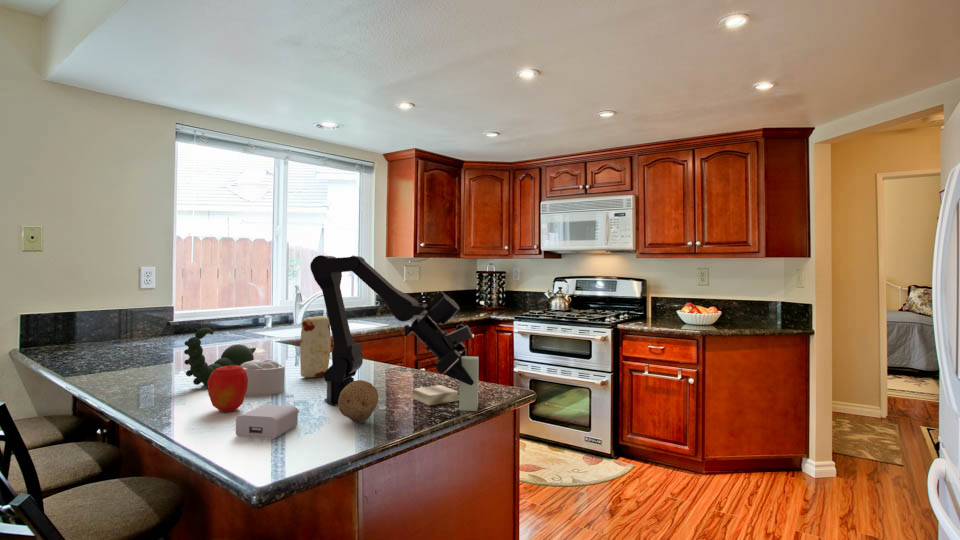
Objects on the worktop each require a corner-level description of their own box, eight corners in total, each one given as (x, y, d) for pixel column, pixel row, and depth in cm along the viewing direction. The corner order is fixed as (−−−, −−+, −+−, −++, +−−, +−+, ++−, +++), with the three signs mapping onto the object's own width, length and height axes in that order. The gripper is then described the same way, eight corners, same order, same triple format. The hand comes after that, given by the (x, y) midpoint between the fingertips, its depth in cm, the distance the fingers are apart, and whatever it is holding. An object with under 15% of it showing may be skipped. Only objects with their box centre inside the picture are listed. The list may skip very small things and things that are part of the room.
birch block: (429, 407, 134) (429, 395, 134) (412, 399, 141) (412, 388, 141) (457, 402, 139) (457, 391, 139) (440, 395, 146) (440, 385, 146)
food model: (303, 380, 161) (304, 317, 161) (296, 376, 167) (297, 315, 167) (333, 376, 167) (334, 316, 167) (325, 373, 173) (326, 314, 173)
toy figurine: (204, 398, 144) (268, 374, 167) (200, 332, 142) (265, 317, 166) (179, 395, 147) (245, 371, 171) (175, 330, 146) (242, 315, 169)
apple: (229, 404, 132) (230, 357, 132) (256, 408, 129) (257, 360, 129) (198, 413, 123) (198, 363, 123) (226, 417, 120) (226, 366, 120)
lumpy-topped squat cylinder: (253, 386, 153) (253, 357, 153) (292, 388, 151) (292, 359, 151) (229, 394, 143) (230, 363, 143) (271, 397, 140) (272, 365, 140)
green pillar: (459, 410, 129) (459, 359, 129) (460, 405, 134) (461, 356, 134) (476, 410, 129) (477, 359, 129) (477, 406, 134) (478, 356, 134)
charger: (310, 419, 120) (276, 440, 105) (274, 417, 122) (235, 437, 107) (311, 399, 120) (276, 417, 105) (274, 397, 122) (235, 414, 107)
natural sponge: (368, 431, 111) (368, 385, 111) (330, 428, 113) (330, 383, 113) (383, 419, 120) (384, 377, 120) (348, 417, 122) (348, 375, 122)
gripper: (450, 318, 122) (495, 365, 122) (458, 312, 141) (497, 352, 140) (417, 350, 123) (462, 397, 122) (429, 340, 142) (468, 380, 141)
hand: (474, 380), depth 131 cm, fingers open, 9 cm apart
